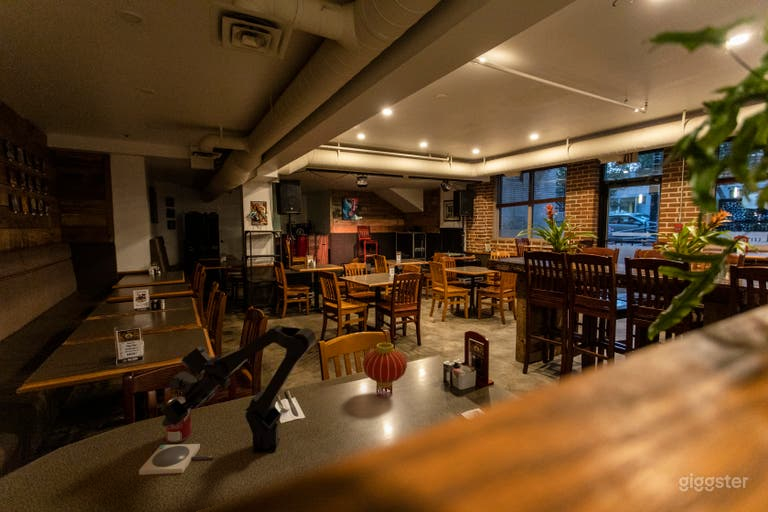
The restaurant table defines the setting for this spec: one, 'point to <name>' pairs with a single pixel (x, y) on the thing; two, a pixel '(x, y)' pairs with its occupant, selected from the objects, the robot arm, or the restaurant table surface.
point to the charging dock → (171, 459)
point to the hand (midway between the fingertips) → (174, 416)
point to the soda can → (179, 426)
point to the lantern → (384, 366)
